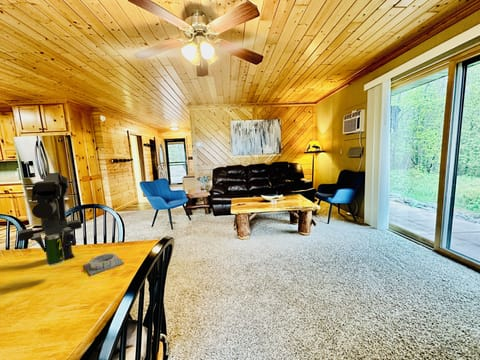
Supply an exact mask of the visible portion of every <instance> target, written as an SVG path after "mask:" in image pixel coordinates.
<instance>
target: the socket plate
mask: <svg viewBox="0 0 480 360" xmlns="http://www.w3.org/2000/svg"><path fill="white" fill-rule="evenodd" d="M108 260H110V259H107V260H102V261H99V262H97V263H101V262H105V261H108ZM124 265H125V262H123V261H122V259H120V258H119V257H118V256H117V262H116V263H115V264H113V265H112V266H110V267H107V268H103V269H98V270H94V269H91V268H90V264H89V262H87V263H84V264H83V266H84V268H85V269H86V272H88V274H89V276H90V277H92V276H95V275H97V274H100V273H102V272H105V271H109V270H111V269H114V268H117V267H120V266H124Z"/></svg>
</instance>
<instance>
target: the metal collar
mask: <svg viewBox="0 0 480 360" xmlns="http://www.w3.org/2000/svg"><path fill="white" fill-rule="evenodd" d="M117 257H118V255H117V254H116V253H115V252H114V253H113V252H112V253H111V252H110V253H109V252H108V253H103V254H99V255H97V256H94V257H93V258H91V259H90V260H89V261H88V263H89V264H90V268H91V269H94V270H98V269H103V268H107V267H110V266H112V265H113V264H115V263H116V262H117ZM107 259H110V260H108V261H105V262H101V263H97V262H99V261H102V260H107Z"/></svg>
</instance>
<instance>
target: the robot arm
mask: <svg viewBox="0 0 480 360" xmlns="http://www.w3.org/2000/svg"><path fill="white" fill-rule="evenodd" d="M69 189H70V184H69V180H68V177H66V176H63V175H62V173H61V172H49V173H46V176H45V178H44V179H43V180H40V181H36V182H35V183H34V185H32V188H31V202H37V204H35V205H34V206H33V207H32V210H31V214H32V215H33V216H34V217H36V218H37V219H40V224H41V225H40V226H41V228H39V229H35V230H33V228H27V229H21V230H19V231H18V232H17V234H18V235H17V236H18V241H19V242H23V241H27V240H30V241H32V242H33V241H35V242H36V243H37V244H38V245H39V246H40V248H41V249H42V251H43V253H46V250H45V243H44V239H43V237H42V234H44V236H45V235H46V236H49V235H52V234H56V233H57V234H58V233H60V234H61V236H62V244H63V252H64V261H65V260H69V259H73V258H75V254H74V253H73V248H72V247H73V246H75V245H76V244H77V238H76V236H75V235H74V233H73V231H74V230H79V229H82V222H81V221H80V220H79V219H74V220H69V221H68V220H67V211H66V200H65V199H66V198H65V197H66V196H67V194H68V193H69Z"/></svg>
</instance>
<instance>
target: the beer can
mask: <svg viewBox="0 0 480 360" xmlns="http://www.w3.org/2000/svg"><path fill="white" fill-rule="evenodd" d="M43 243H44V246H45V250H46V252H45V255H46V256H45V257H46V264H47V265H48V266H49V267H52V266H57V265H59V264H62V263H63V262H64V261H65V260H64V252H63V244H62V236H61V234H60V233H58V234H57V233H56V234H52V235H49V236H46V235H45V234H44V237H43Z"/></svg>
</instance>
